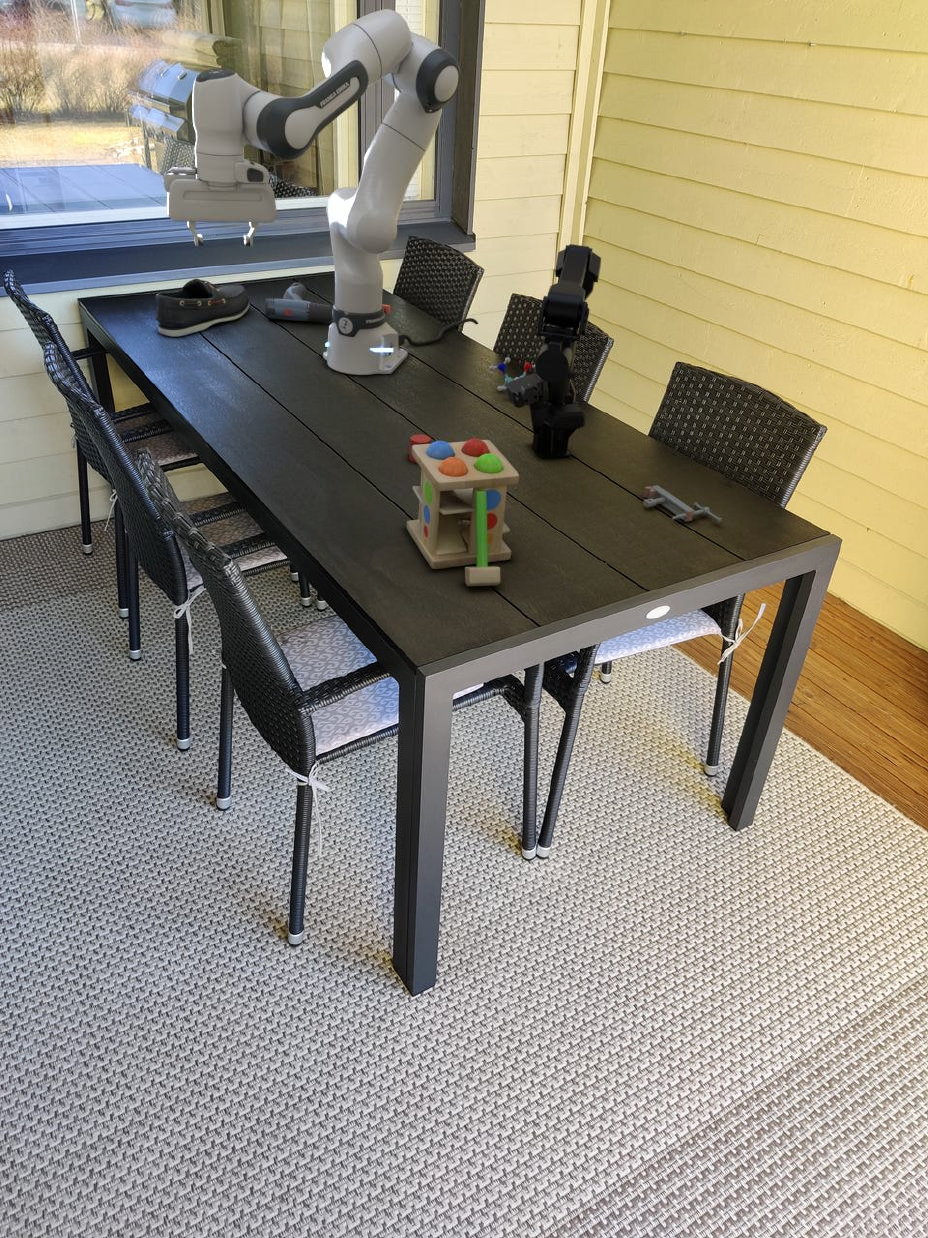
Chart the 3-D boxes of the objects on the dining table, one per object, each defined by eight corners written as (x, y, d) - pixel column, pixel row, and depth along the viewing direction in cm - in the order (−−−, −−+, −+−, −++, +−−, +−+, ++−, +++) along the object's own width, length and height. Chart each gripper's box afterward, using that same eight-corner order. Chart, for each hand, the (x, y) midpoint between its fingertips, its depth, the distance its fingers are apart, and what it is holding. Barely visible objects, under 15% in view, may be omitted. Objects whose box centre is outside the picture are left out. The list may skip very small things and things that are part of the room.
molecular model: (534, 392, 222) (521, 349, 221) (497, 406, 226) (483, 364, 224) (547, 391, 232) (534, 350, 231) (510, 404, 236) (497, 364, 235)
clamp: (632, 488, 188) (672, 480, 193) (630, 499, 190) (670, 490, 194) (684, 524, 178) (724, 515, 182) (681, 535, 179) (722, 525, 184)
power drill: (344, 304, 276) (335, 327, 259) (277, 298, 275) (264, 321, 258) (344, 285, 273) (335, 306, 256) (277, 279, 272) (264, 300, 255)
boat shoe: (268, 313, 265) (265, 274, 259) (176, 339, 241) (172, 296, 236) (232, 304, 271) (230, 265, 265) (140, 328, 247) (135, 286, 241)
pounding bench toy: (530, 586, 160) (545, 488, 150) (449, 597, 155) (458, 496, 145) (480, 519, 178) (490, 427, 168) (405, 527, 173) (411, 433, 163)
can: (422, 465, 195) (423, 444, 192) (405, 459, 196) (406, 438, 194) (433, 458, 198) (434, 437, 195) (416, 453, 199) (417, 432, 197)
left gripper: (164, 170, 177) (170, 249, 184) (277, 173, 183) (278, 249, 191) (160, 163, 182) (166, 240, 189) (271, 166, 188) (272, 241, 196)
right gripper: (496, 346, 180) (488, 425, 189) (533, 384, 166) (522, 468, 174) (552, 345, 183) (542, 423, 192) (593, 382, 169) (579, 464, 178)
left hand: (224, 245), depth 190 cm, fingers open, 8 cm apart
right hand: (545, 443), depth 184 cm, fingers open, 9 cm apart
